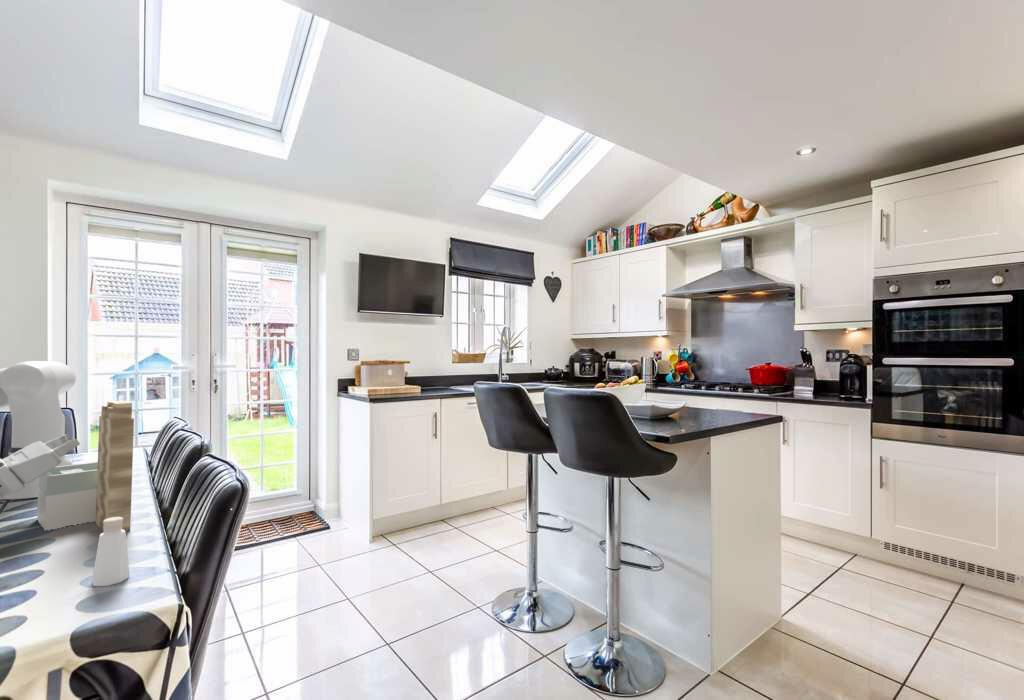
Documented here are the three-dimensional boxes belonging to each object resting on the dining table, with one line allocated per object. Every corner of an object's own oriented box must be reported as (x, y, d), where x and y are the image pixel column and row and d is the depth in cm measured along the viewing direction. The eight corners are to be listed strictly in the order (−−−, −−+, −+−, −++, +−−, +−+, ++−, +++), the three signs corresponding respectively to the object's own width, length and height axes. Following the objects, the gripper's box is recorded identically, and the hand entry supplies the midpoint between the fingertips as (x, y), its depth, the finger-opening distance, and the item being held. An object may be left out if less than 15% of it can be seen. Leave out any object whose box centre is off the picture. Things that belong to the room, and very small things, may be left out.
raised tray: (36, 519, 116) (38, 468, 116) (117, 505, 128) (118, 459, 128) (45, 531, 108) (47, 476, 109) (129, 514, 120) (131, 465, 121)
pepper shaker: (85, 589, 81) (87, 525, 82) (98, 576, 86) (100, 515, 87) (124, 583, 84) (126, 521, 84) (134, 571, 89) (136, 512, 89)
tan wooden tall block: (95, 523, 114) (99, 401, 114) (116, 519, 117) (120, 400, 118) (108, 535, 106) (112, 404, 107) (130, 530, 109) (134, 403, 110)
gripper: (5, 478, 115) (73, 444, 124) (16, 494, 102) (90, 454, 111) (-13, 458, 112) (57, 424, 122) (-4, 471, 100) (73, 432, 109)
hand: (73, 438), depth 117 cm, fingers open, 8 cm apart
